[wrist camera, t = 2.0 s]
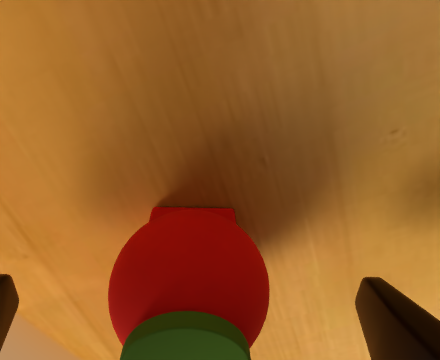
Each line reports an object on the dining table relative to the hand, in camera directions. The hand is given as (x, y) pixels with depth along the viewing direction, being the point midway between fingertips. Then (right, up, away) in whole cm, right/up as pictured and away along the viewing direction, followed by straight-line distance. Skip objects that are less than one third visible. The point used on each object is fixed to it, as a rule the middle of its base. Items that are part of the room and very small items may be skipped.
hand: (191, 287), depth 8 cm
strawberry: (0, +1, +2) cm, 2 cm away
